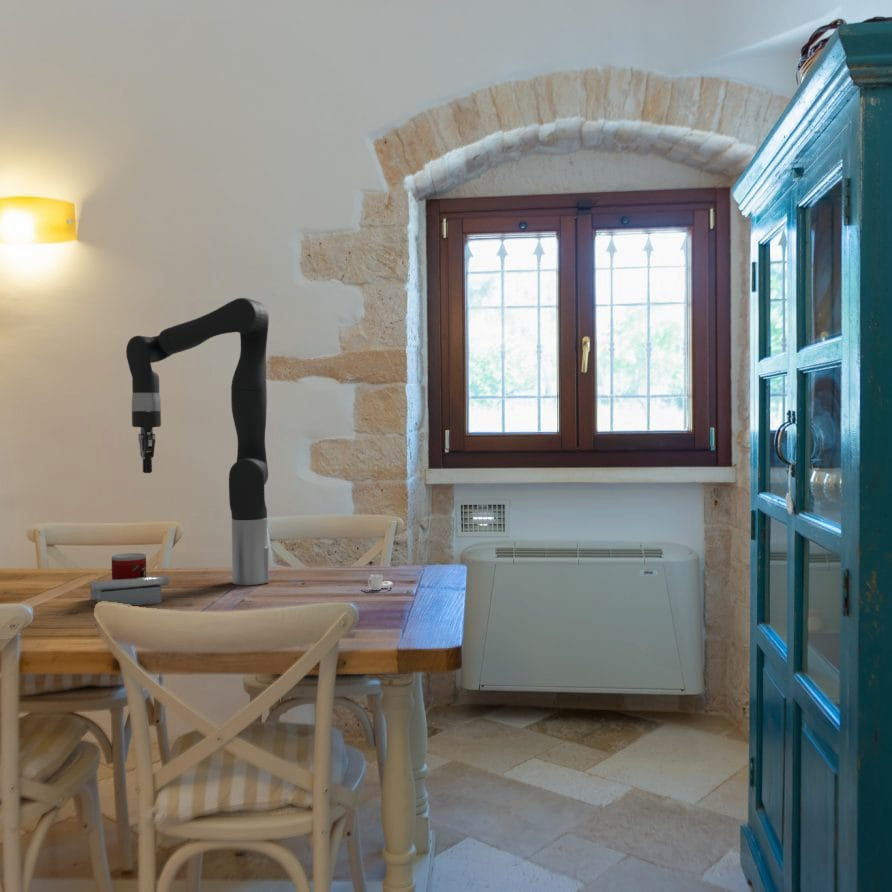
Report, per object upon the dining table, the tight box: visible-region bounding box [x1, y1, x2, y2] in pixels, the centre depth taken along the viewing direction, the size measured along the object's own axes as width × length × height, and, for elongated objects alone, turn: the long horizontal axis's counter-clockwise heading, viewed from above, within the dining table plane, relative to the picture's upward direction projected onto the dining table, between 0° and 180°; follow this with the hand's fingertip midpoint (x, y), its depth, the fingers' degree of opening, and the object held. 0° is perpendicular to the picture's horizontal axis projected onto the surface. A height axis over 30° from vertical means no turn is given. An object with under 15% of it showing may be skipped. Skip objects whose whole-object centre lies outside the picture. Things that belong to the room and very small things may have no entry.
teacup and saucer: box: [367, 574, 393, 590], centre depth 226 cm, size 9×8×4 cm
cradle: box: [89, 574, 170, 606], centre depth 214 cm, size 17×14×6 cm
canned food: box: [111, 552, 147, 580], centre depth 214 cm, size 8×8×11 cm
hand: (147, 472), depth 243 cm, fingers closed
